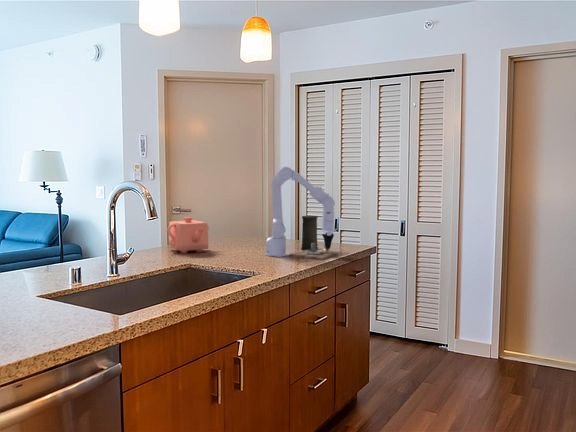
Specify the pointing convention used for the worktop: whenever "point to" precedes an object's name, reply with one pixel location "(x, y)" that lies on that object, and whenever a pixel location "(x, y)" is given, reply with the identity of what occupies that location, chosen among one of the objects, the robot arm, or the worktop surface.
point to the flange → (318, 251)
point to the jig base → (313, 256)
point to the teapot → (188, 235)
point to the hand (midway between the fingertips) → (327, 248)
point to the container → (309, 232)
